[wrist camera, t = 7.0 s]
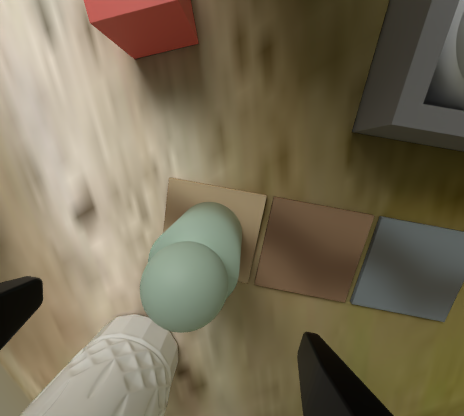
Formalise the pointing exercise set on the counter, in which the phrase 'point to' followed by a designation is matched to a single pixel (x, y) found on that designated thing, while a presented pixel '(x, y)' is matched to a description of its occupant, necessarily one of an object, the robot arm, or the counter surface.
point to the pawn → (192, 268)
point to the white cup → (114, 374)
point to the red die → (144, 24)
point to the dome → (450, 68)
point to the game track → (338, 251)
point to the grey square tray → (410, 77)
